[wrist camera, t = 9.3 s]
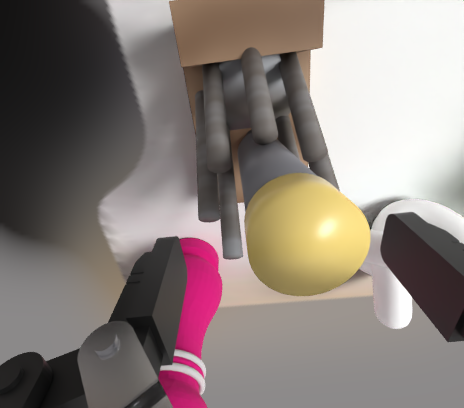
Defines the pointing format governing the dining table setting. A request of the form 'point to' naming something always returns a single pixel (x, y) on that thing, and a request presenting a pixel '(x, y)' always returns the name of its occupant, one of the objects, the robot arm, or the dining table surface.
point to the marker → (297, 223)
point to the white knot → (384, 281)
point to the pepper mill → (193, 325)
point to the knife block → (248, 93)
